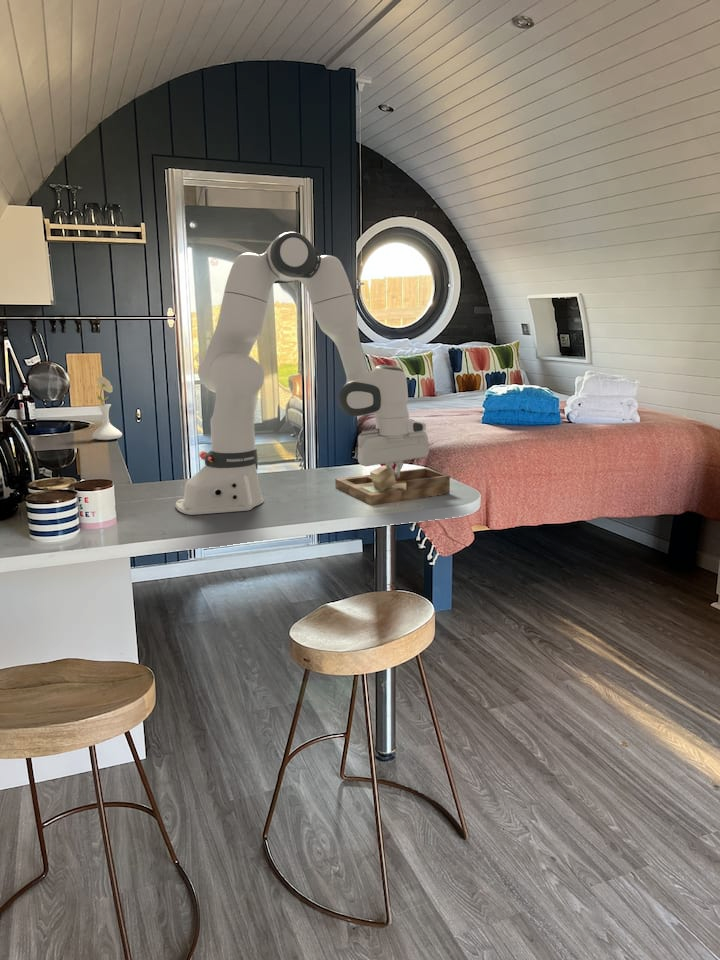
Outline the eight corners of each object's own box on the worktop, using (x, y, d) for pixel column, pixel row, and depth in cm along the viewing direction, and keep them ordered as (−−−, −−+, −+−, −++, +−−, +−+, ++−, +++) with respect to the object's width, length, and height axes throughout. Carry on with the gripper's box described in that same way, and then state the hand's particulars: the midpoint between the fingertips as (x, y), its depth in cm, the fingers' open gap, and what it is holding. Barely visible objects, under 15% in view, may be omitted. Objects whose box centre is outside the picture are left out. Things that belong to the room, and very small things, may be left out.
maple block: (382, 490, 197) (377, 475, 195) (374, 486, 201) (369, 471, 199) (396, 483, 198) (392, 468, 197) (388, 480, 202) (383, 465, 201)
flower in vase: (125, 440, 294) (120, 376, 289) (95, 443, 289) (89, 378, 283) (118, 435, 305) (112, 374, 300) (89, 438, 300) (83, 375, 294)
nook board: (371, 504, 192) (370, 486, 191) (335, 487, 211) (335, 470, 210) (449, 493, 202) (449, 476, 201) (408, 478, 222) (408, 461, 221)
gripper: (363, 433, 190) (365, 485, 193) (431, 423, 199) (432, 474, 202) (352, 430, 196) (355, 481, 199) (418, 421, 204) (420, 470, 208)
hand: (394, 477), depth 200 cm, fingers closed
